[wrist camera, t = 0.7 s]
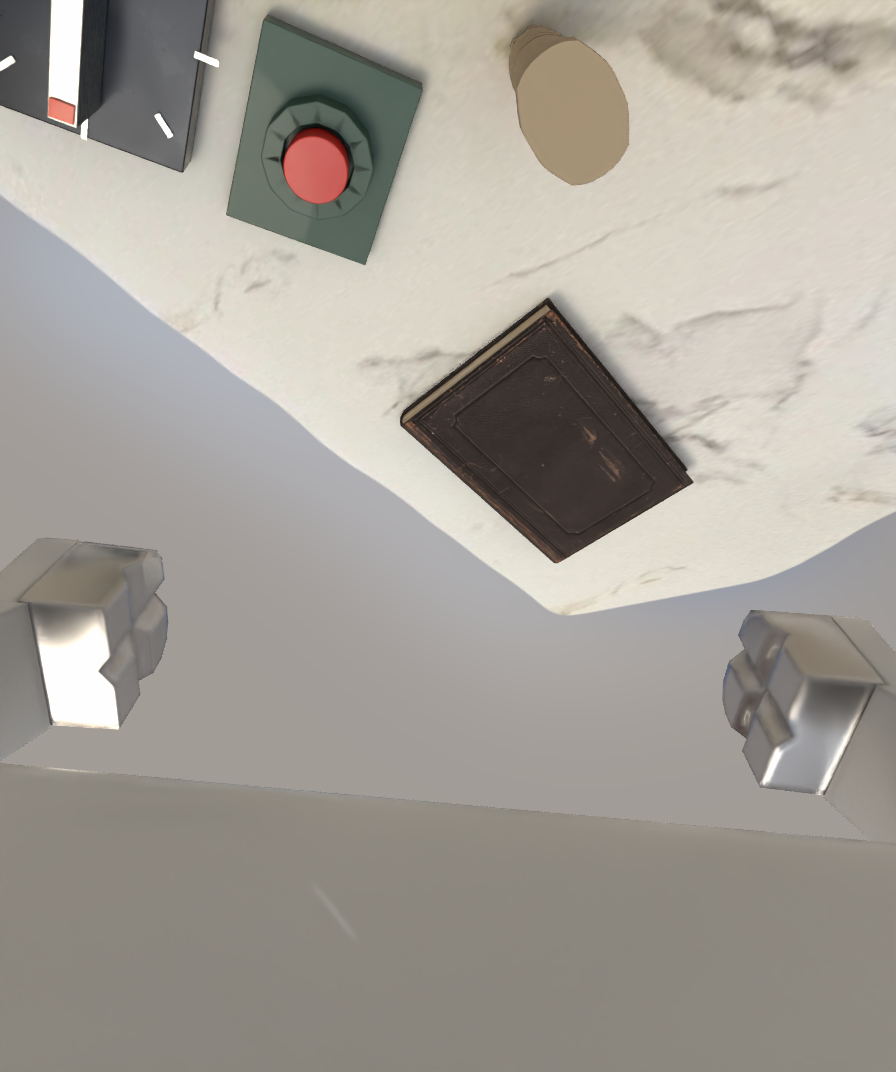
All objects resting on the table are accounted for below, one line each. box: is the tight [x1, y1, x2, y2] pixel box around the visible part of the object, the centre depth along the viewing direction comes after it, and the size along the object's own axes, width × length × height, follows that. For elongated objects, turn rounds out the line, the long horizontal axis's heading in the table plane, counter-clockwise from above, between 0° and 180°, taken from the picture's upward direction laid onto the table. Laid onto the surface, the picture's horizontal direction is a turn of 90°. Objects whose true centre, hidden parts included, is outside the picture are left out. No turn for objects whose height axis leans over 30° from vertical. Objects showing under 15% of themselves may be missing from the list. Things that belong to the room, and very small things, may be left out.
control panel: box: [0, 0, 219, 172], centre depth 43 cm, size 14×14×3 cm
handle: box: [509, 25, 629, 185], centre depth 41 cm, size 5×6×15 cm
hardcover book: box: [400, 298, 694, 563], centre depth 66 cm, size 16×23×2 cm
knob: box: [47, 0, 108, 128], centre depth 40 cm, size 10×2×5 cm, turn 158°
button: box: [283, 128, 349, 204], centre depth 47 cm, size 4×4×2 cm
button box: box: [226, 15, 422, 265], centre depth 48 cm, size 12×10×4 cm
